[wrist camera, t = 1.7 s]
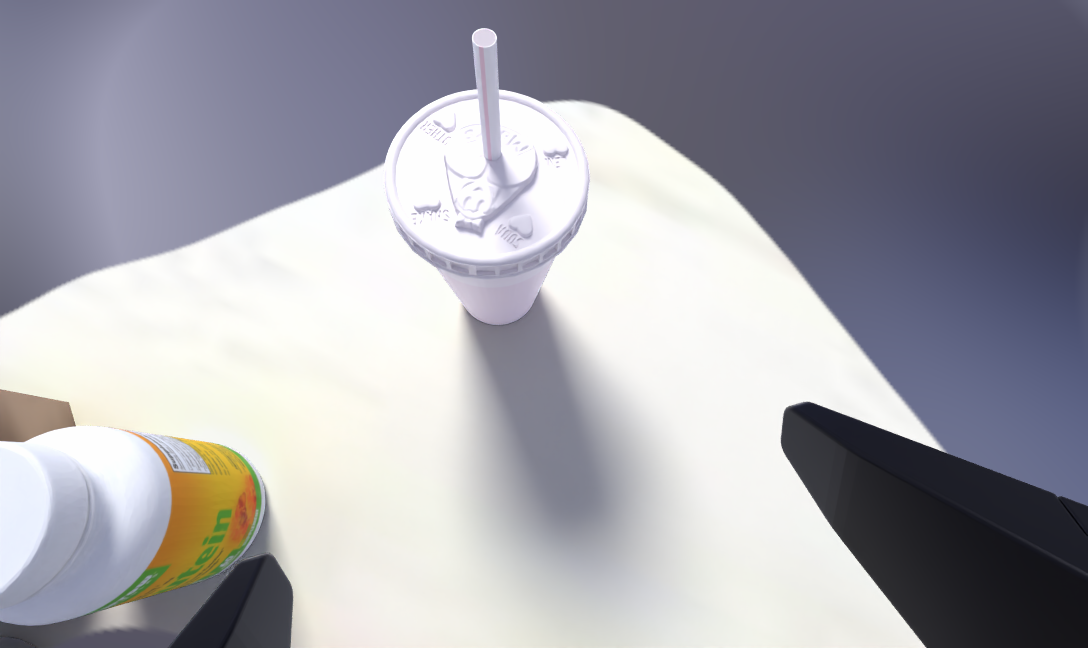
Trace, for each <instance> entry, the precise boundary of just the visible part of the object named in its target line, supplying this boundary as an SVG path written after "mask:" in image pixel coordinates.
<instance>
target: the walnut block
mask: <svg viewBox="0 0 1088 648" xmlns="http://www.w3.org/2000/svg"><path fill="white" fill-rule="evenodd" d="M68 427H76V425H75V422H74V418H73V415H72V411H71V408H70V405H69V402H63V401H58V400H53V399H48V398H43V397H37V396H32V395H27V394H22V393H17V392H11V391H6V390H1V389H0V441H6V442H26V441H28V440H30V439H32V438H34V437H36V436H39V435H42V434H44V433H47V432H50V431H54V430H58V429H62V428H68Z"/></svg>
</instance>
